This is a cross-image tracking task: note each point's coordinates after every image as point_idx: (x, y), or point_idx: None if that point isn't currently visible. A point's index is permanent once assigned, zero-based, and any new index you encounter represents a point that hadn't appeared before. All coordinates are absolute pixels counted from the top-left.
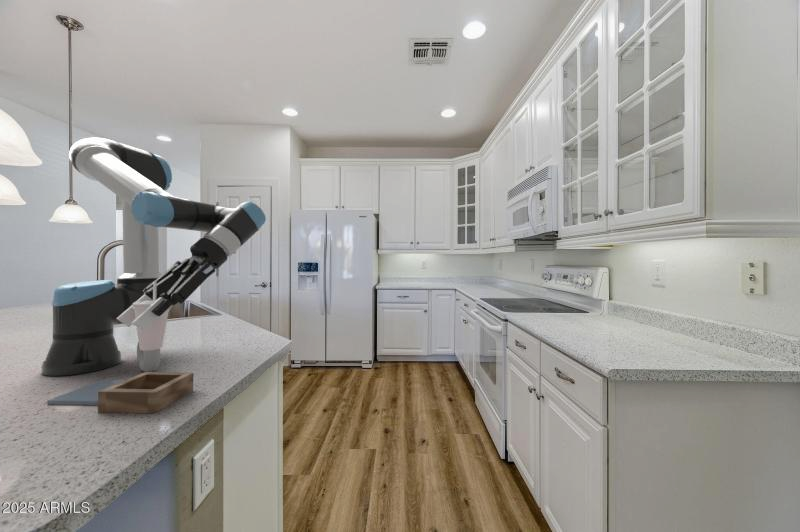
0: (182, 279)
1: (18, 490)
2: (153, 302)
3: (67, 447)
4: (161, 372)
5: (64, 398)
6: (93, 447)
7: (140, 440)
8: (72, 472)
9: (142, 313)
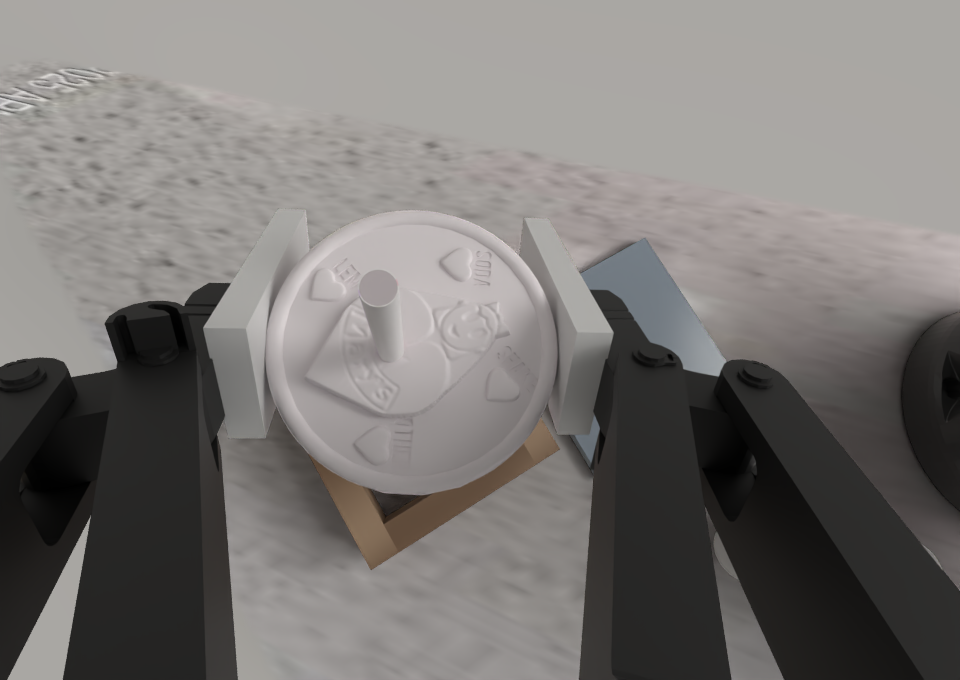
0: (79, 607)
1: (146, 90)
2: (340, 321)
3: (269, 187)
4: (494, 485)
5: (623, 266)
6: (208, 215)
7: (130, 287)
8: (120, 156)
9: (276, 239)
